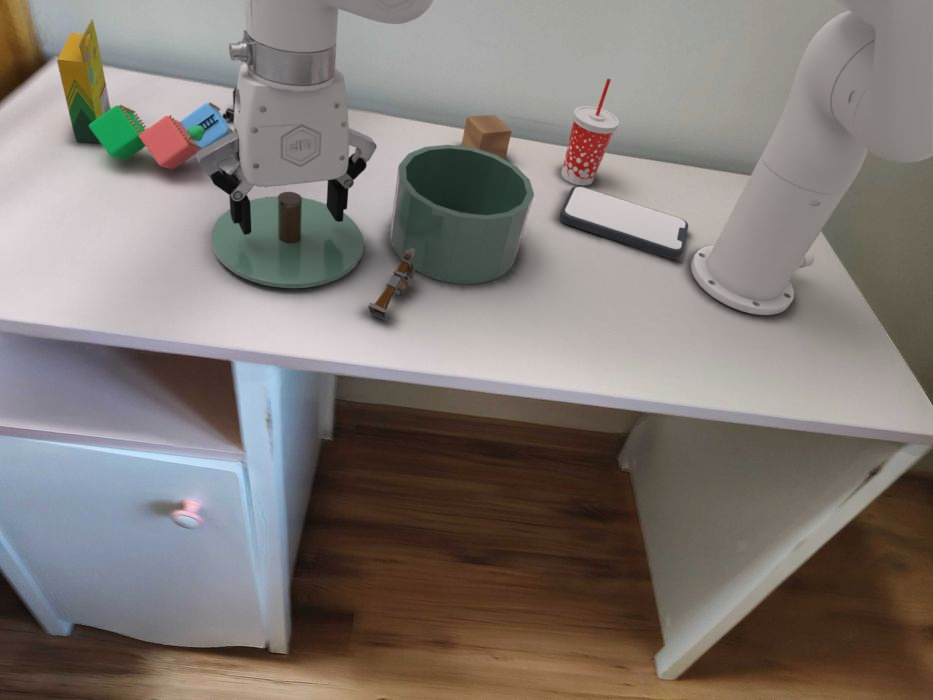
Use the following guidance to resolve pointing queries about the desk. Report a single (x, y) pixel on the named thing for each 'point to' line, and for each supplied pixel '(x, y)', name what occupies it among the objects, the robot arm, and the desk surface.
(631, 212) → the smartphone
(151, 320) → the desk surface
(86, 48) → the crayon box
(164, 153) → the building blocks
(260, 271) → the lid
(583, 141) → the beverage cup
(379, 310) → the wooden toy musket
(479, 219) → the tin
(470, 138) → the oak block
